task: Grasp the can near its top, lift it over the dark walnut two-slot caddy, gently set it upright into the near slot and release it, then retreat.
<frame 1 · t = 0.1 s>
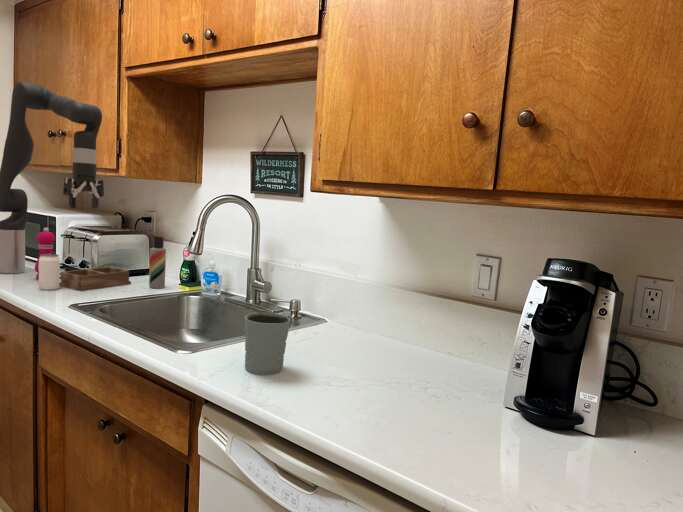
hand: (83, 208, 181), 29 cm above the worktop, fingers open, 8 cm apart
gray cup: (264, 369, 118), on the worktop
lotion bottle: (156, 287, 198), on the worktop
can: (49, 289, 182), on the worktop
pepper mill: (45, 279, 197), on the worktop
caddy: (95, 284, 193), on the worktop
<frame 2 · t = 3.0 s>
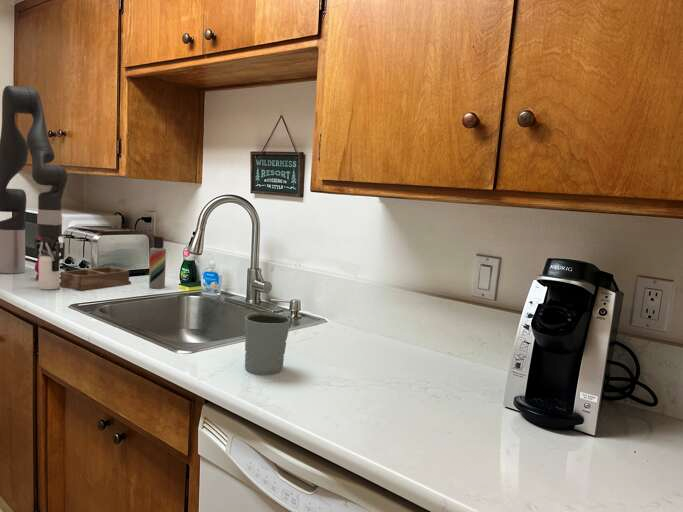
hand: (49, 269, 181), 7 cm above the worktop, fingers closed on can, 6 cm apart
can: (49, 289, 182), on the worktop, touching gripper
everything else where it was.
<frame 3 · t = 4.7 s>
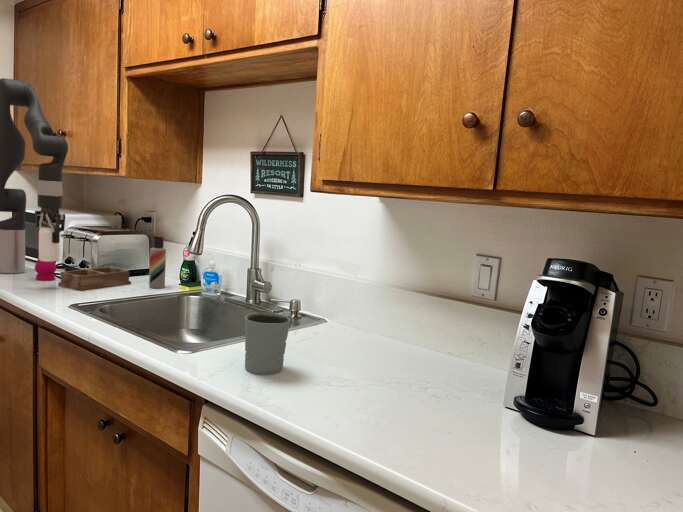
hand: (49, 241, 180), 17 cm above the worktop, fingers closed on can, 6 cm apart
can: (49, 261, 181), point 10 cm above the worktop, touching gripper
everything else where it was.
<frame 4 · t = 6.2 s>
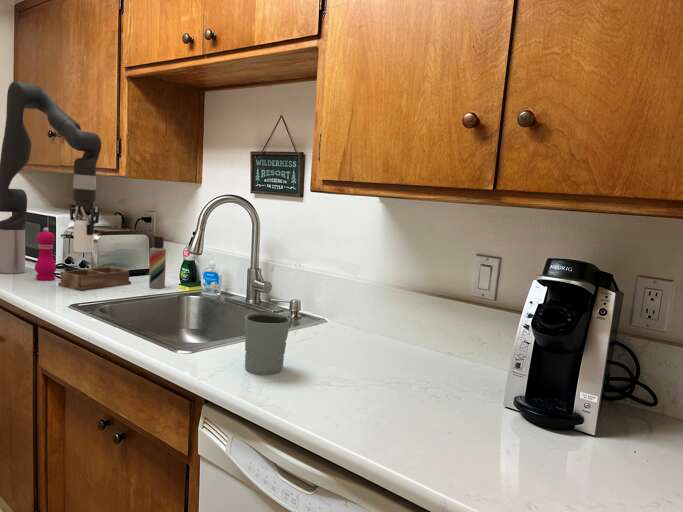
hand: (83, 233, 187), 20 cm above the worktop, fingers closed on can, 6 cm apart
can: (83, 252, 187), point 13 cm above the worktop, touching gripper
everything else where it was.
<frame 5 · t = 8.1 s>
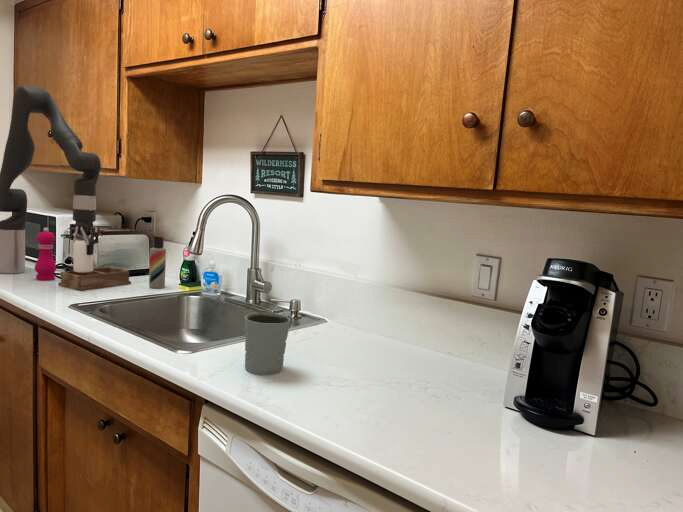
hand: (83, 253, 188), 12 cm above the worktop, fingers closed on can, 6 cm apart
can: (83, 272, 188), point 5 cm above the worktop, touching gripper
everything else where it was.
when the fingers open (9 cm above the worktop, at t = 9.6 s): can stays where it is, resting on caddy.
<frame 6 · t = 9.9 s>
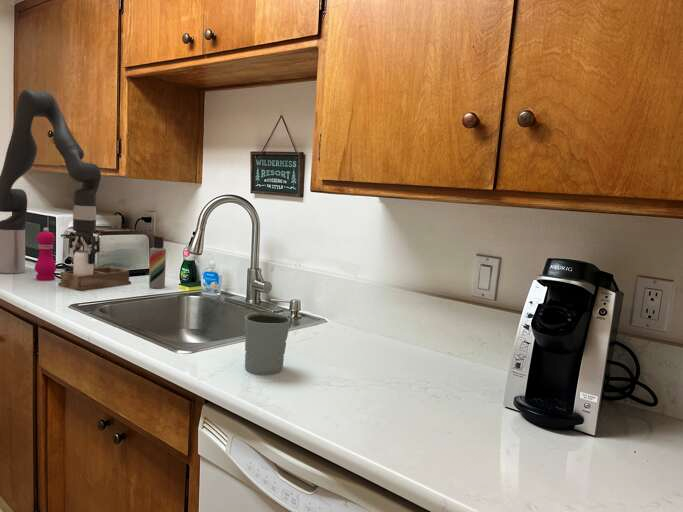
hand: (83, 262, 188), 9 cm above the worktop, fingers open, 8 cm apart
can: (83, 283, 189), point 1 cm above the worktop, touching caddy
everything else where it was.
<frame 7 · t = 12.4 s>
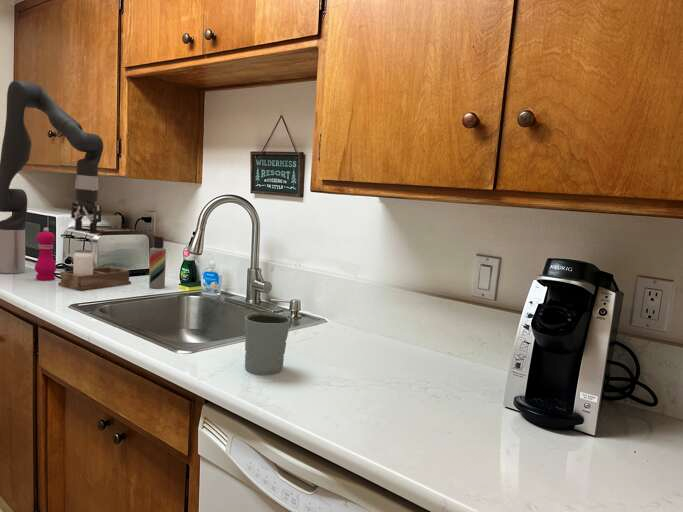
hand: (85, 231, 190), 20 cm above the worktop, fingers open, 8 cm apart
nothing on the worktop moved.
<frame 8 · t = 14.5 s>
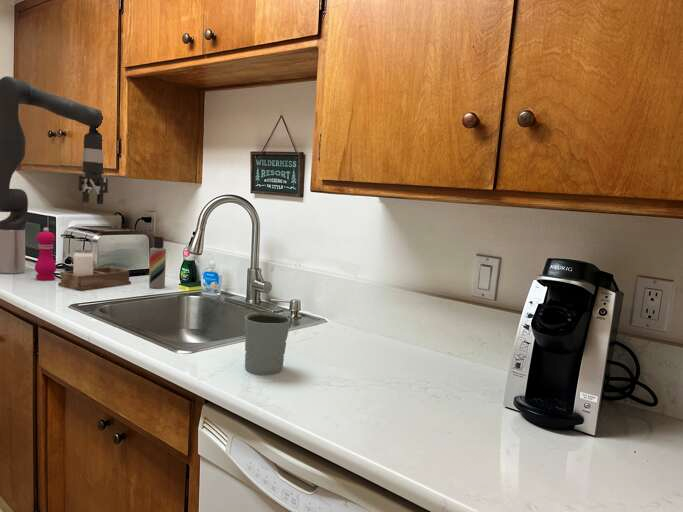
hand: (92, 203, 200), 30 cm above the worktop, fingers open, 8 cm apart
nothing on the worktop moved.
at the end: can 0.2 cm from the target spot on the caddy, point 1.0 cm above the caddy's base; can tilted 0°; the gripper is holding nothing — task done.
